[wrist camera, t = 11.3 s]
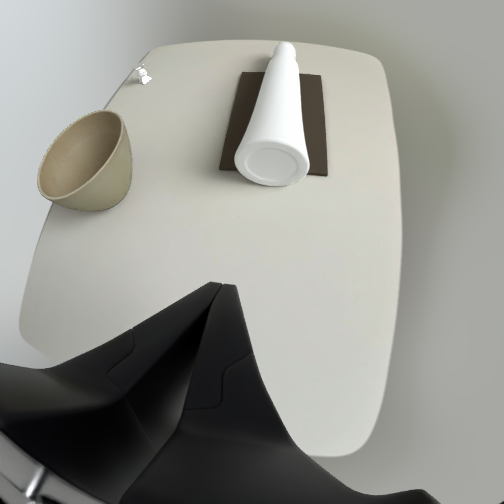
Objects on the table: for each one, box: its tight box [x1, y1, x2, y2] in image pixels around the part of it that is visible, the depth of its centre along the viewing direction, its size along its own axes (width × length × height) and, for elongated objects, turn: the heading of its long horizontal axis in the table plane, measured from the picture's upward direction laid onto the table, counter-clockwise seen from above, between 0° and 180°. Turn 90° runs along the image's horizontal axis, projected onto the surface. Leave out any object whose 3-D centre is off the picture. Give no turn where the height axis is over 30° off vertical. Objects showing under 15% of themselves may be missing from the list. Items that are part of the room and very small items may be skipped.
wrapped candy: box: [133, 63, 151, 84], centre depth 31 cm, size 2×2×3 cm
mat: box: [219, 72, 328, 176], centre depth 27 cm, size 16×10×1 cm, turn 173°
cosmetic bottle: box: [234, 42, 310, 186], centre depth 25 cm, size 6×6×22 cm
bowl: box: [37, 110, 132, 211], centre depth 22 cm, size 10×10×7 cm
